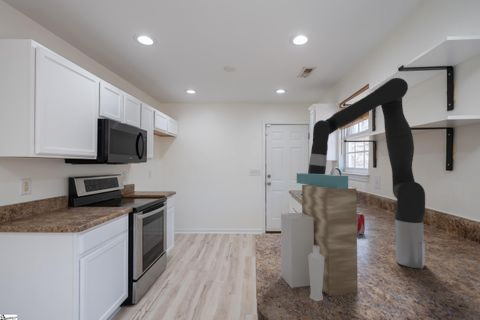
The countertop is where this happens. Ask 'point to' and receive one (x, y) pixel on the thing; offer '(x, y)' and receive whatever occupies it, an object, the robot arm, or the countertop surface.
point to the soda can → (360, 223)
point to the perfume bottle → (316, 273)
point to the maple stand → (334, 235)
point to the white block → (296, 248)
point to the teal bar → (323, 180)
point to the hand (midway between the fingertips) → (313, 199)
